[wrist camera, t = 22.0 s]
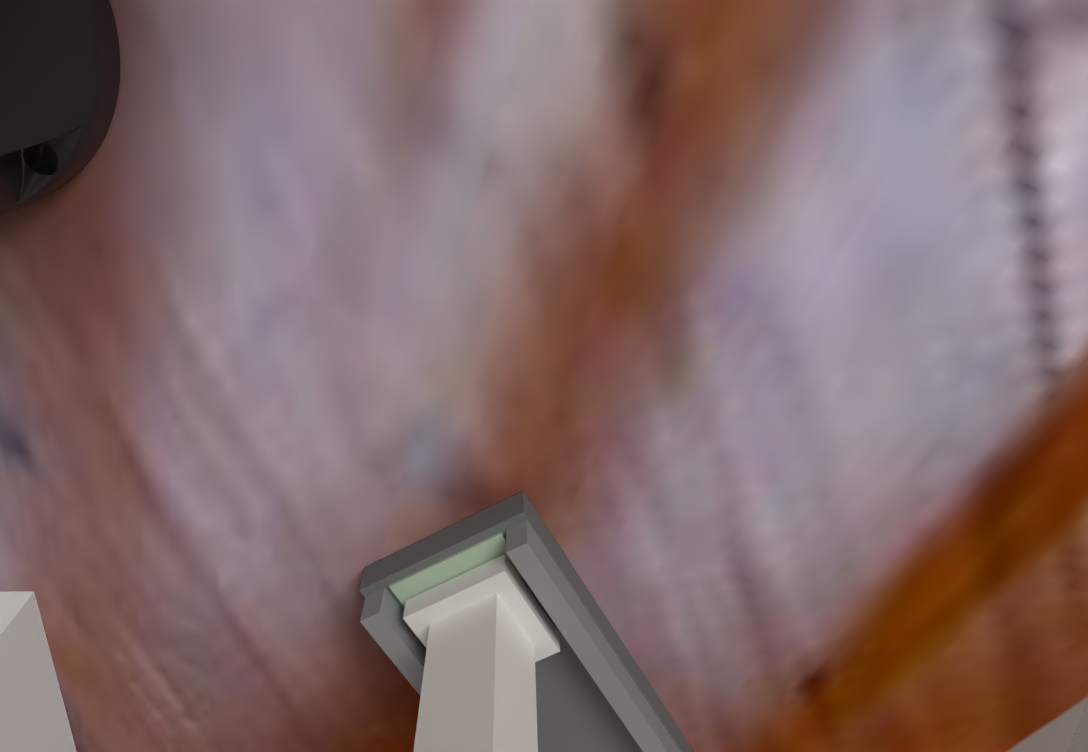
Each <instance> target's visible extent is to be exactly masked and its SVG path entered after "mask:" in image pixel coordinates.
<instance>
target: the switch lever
mask: <svg viewBox="0 0 1088 752" xmlns="http://www.w3.org/2000/svg"><path fill="white" fill-rule="evenodd" d="M403 619H404V620H405V622H406V623H407V624H408V626H409V627H410V628H411V629H412V631H413V632H414V633H415V635H416V636H417V637H418V638H419V640H420V641H421V642H422V643H423V645H424V646H425V647H426V657H425V665H424V673H423V680H422V688H421V696H420V704H419V712H418V720H417V728H416V735H415V743H414V751H413V752H538V738H537V707H536V675H535V662H537V661H539V660H542V659H544V658H546V657H548V656H551V655H553V654H555V653H557V652H560V641H559V633H558V631H557V630H556V628H555V627H554V625H553V624H552V622H551V621H550V619H549V618H548V617H547V615H546V614H545V612H544V611H543V609H542V608H541V606H540V605H539V604H538V602H537V601H536V599H535V598H534V596H533V595H532V593H531V592H530V590H529V589H528V588H527V586H526V585H525V583H524V582H523V580H522V579H521V577H520V576H519V575H518V573H517V572H516V570H515V569H514V567H513V566H512V564H511V563H510V561H509V560H508V559H507V557H506V556H505V554H504V555H502V556H500V557H498V558H496V559H494V560H491V561H489V562H487V563H485V564H483V565H481V566H479V567H476V568H474V569H472V570H470V571H468V572H466V573H464V574H462V575H459V576H457V577H455V578H453V579H451V580H449V581H447V582H445V583H442V584H440V585H438V586H436V587H434V588H432V589H430V590H427V591H425V592H423V593H421V594H419V595H417V596H415V597H413V598H410V599H408V600H406V603H405V609H404V614H403Z"/></svg>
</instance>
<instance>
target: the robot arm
mask: <svg viewBox="0 0 1088 752" xmlns="http://www.w3.org/2000/svg"><path fill="white" fill-rule="evenodd" d="M119 81H120V51H119V42H118V35H117V29H116V24H115V20H114V16H113V12H112V8H111V5H110V2H109V0H0V215H1V214H4V213H7V212H10V211H13V210H16V209H18V208H20V207H23V206H25V205H27V204H29V203H31V202H33V201H35V200H38V199H40V198H42V197H44V196H46V195H48V194H50V193H51V192H53V191H55V190H57V189H58V188H60V187H61V186H63V185H64V184H66V183H67V182H68V181H69V180H71V179H72V178H73V177H74V176H76V175H77V174H78V173H79V172H80V171H81V170H82V169H83V168H84V166H85V165H86V164H87V163H88V162H89V161H90V159H91V158H92V157H93V155H94V154H95V152H96V151H97V149H98V148H99V146H100V144H101V143H102V141H103V139H104V137H105V135H106V133H107V131H108V128H109V126H110V123H111V120H112V117H113V114H114V110H115V107H116V103H117V97H118V91H119ZM0 752H76V748H75V744H74V740H73V737H72V733H71V729H70V725H69V721H68V718H67V714H66V710H65V706H64V703H63V699H62V695H61V691H60V688H59V684H58V680H57V676H56V673H55V669H54V665H53V661H52V658H51V654H50V650H49V646H48V643H47V639H46V635H45V631H44V628H43V624H42V620H41V616H40V612H39V609H38V605H37V601H36V597H35V594H34V592H0ZM1068 752H1088V700H1087V703H1086V705H1085V708H1084V711H1083V713H1082V716H1081V719H1080V721H1079V724H1078V726H1077V729H1076V732H1075V734H1074V737H1073V740H1072V742H1071V745H1070V748H1069V750H1068Z"/></svg>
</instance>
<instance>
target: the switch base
mask: <svg viewBox="0 0 1088 752" xmlns="http://www.w3.org/2000/svg"><path fill="white" fill-rule="evenodd" d="M504 554H505V556H506V557H507V559H508V560H509V561H510V563H511V564H512V566H513V567H514V569H515V570H516V572H517V573H518V575H519V576H520V577H521V579H522V580H523V582H524V583H525V585H526V586H527V588H528V589H529V590H530V592H531V593H532V595H533V596H534V598H535V599H536V601H537V602H538V604H539V605H540V606H541V608H542V609H543V611H544V612H545V614H546V615H547V617H548V618H549V619H550V621H551V622H552V624H553V625H554V627H555V628H556V630H557V631H558V633H559V641H560V652H557V653H555V654H553V655H551V656H548V657H546V658H544V659H542V660H539V661H537V662H535V675H536V707H537V738H538V752H694V751H693V750H692V748H691V747H690V745H689V744H688V742H687V741H686V739H685V738H684V736H683V735H682V733H681V732H680V730H679V728H678V727H677V725H676V724H675V722H674V721H673V719H672V718H671V716H670V715H669V713H668V712H667V710H666V709H665V707H664V705H663V704H662V702H661V701H660V699H659V698H658V696H657V695H656V693H655V692H654V690H653V689H652V687H651V686H650V684H649V683H648V681H647V679H646V678H645V676H644V675H643V673H642V672H641V670H640V669H639V667H638V666H637V664H636V663H635V661H634V660H633V658H632V656H631V655H630V653H629V652H628V650H627V649H626V647H625V646H624V644H623V643H622V641H621V640H620V638H619V637H618V635H617V634H616V632H615V630H614V629H613V627H612V626H611V624H610V623H609V621H608V620H607V618H606V617H605V615H604V614H603V612H602V611H601V609H600V607H599V606H598V604H597V603H596V601H595V600H594V598H593V597H592V595H591V594H590V592H589V591H588V589H587V588H586V586H585V585H584V583H583V581H582V580H581V578H580V577H579V575H578V574H577V572H576V571H575V569H574V568H573V566H572V565H571V563H570V562H569V560H568V559H567V557H566V555H565V554H564V552H563V551H562V549H561V548H560V546H559V545H558V543H557V542H556V540H555V539H554V537H553V536H552V534H551V532H550V531H549V529H548V528H547V526H546V525H545V523H544V522H543V520H542V519H541V517H540V516H539V514H538V513H537V511H536V510H535V508H534V506H533V505H532V503H531V502H530V500H529V499H528V497H527V496H526V494H525V493H524V491H522V492H520V493H518V494H516V495H514V496H511V497H509V498H507V499H505V500H503V501H501V502H499V503H497V504H495V505H493V506H491V507H489V508H487V509H484V510H482V511H480V512H478V513H476V514H474V515H472V516H470V517H468V518H466V519H464V520H462V521H460V522H457V523H455V524H453V525H451V526H449V527H447V528H445V529H443V530H441V531H439V532H437V533H435V534H433V535H430V536H428V537H426V538H424V539H422V540H420V541H418V542H416V543H414V544H412V545H410V546H408V547H406V548H403V549H401V550H399V551H397V552H395V553H393V554H391V555H389V556H387V557H385V558H383V559H381V560H379V561H376V562H374V563H372V564H370V565H368V566H366V567H365V568H364V572H363V576H362V580H361V584H360V588H359V591H360V592H361V594H362V595H363V596H364V598H365V601H364V605H363V610H362V614H361V618H360V622H361V624H362V625H363V626H364V627H365V629H366V630H367V631H368V632H369V633H370V635H371V636H372V637H373V638H374V640H375V641H376V642H377V643H378V645H379V646H380V647H381V648H382V650H383V651H384V652H385V653H386V654H387V656H388V657H389V658H390V659H391V661H392V662H393V663H394V664H395V666H396V667H397V668H398V669H399V670H400V672H401V673H402V674H403V675H404V677H405V678H406V679H407V680H408V682H409V683H410V684H411V685H412V687H413V688H414V689H415V690H416V691H417V693H418V694H419V695H420V696H421V688H422V680H423V673H424V665H425V657H426V647H425V646H424V645H423V643H422V642H421V641H420V640H419V638H418V637H417V636H416V635H415V633H414V632H413V631H412V629H411V628H410V627H409V626H408V624H407V623H406V622H405V620H404V619H403V614H404V609H405V603H406V600H408V599H410V598H413V597H415V596H417V595H419V594H421V593H423V592H425V591H427V590H430V589H432V588H434V587H436V586H438V585H440V584H442V583H445V582H447V581H449V580H451V579H453V578H455V577H457V576H459V575H462V574H464V573H466V572H468V571H470V570H472V569H474V568H476V567H479V566H481V565H483V564H485V563H487V562H489V561H491V560H494V559H496V558H498V557H500V556H502V555H504Z"/></svg>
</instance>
